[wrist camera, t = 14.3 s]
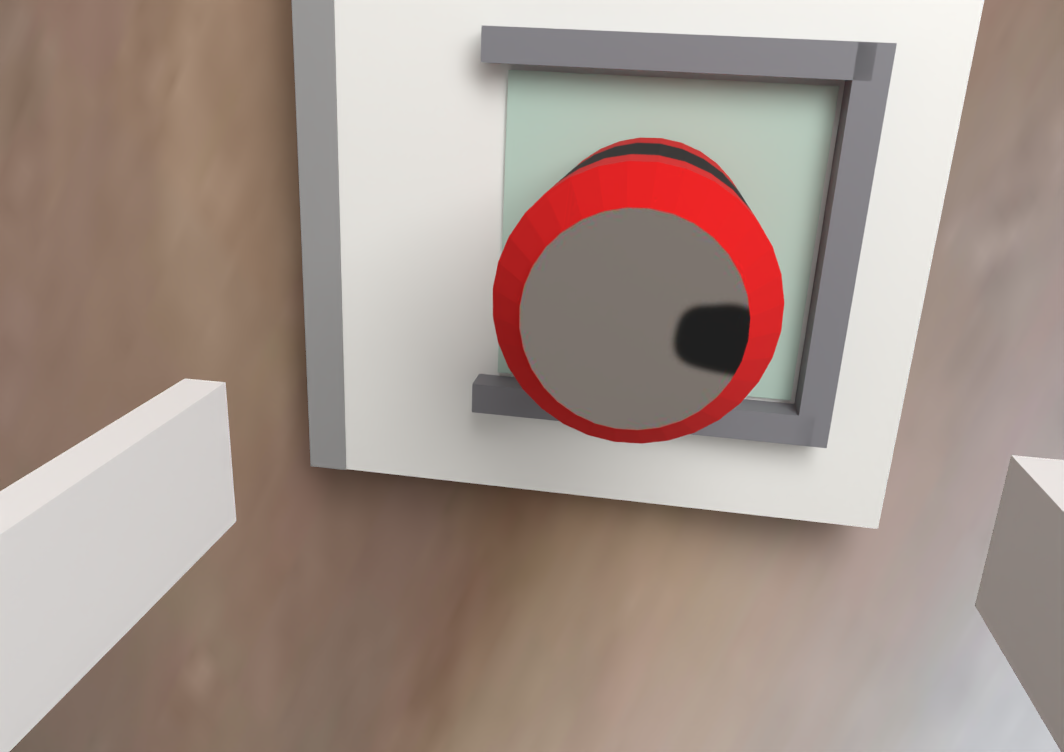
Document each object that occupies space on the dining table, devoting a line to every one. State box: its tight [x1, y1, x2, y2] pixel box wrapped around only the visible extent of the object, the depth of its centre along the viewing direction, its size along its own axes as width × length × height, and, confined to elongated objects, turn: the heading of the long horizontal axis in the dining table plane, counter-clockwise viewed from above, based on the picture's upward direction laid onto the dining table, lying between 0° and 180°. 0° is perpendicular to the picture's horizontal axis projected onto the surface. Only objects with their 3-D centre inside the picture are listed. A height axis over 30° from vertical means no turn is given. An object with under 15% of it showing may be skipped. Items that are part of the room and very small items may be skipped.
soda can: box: [493, 137, 784, 444], centre depth 27 cm, size 8×8×12 cm
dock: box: [292, 0, 984, 529], centre depth 34 cm, size 24×22×4 cm
